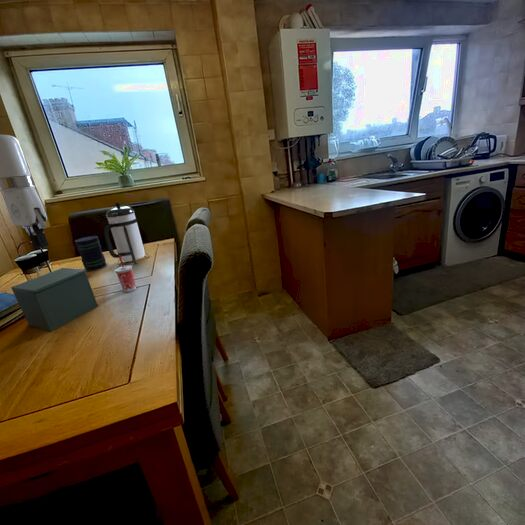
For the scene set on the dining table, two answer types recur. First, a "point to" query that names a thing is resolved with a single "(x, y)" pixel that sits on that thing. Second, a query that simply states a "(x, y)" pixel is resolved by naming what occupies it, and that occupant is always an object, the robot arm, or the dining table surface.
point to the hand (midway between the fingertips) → (41, 246)
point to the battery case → (57, 303)
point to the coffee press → (124, 234)
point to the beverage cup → (126, 277)
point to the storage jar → (91, 253)
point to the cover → (48, 280)
